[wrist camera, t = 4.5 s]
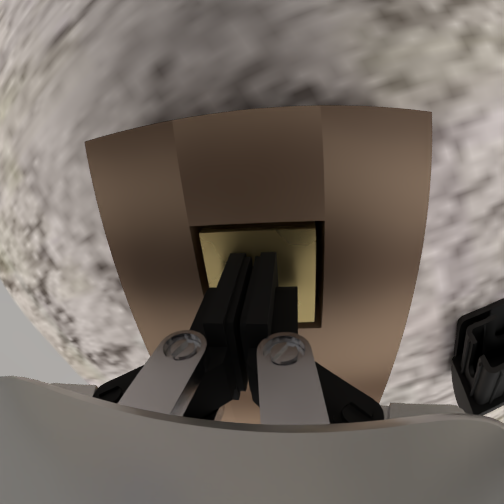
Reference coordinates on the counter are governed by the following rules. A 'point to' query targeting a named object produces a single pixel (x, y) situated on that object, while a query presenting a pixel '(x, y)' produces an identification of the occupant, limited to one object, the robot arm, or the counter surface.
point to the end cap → (480, 360)
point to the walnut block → (275, 219)
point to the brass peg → (267, 240)
